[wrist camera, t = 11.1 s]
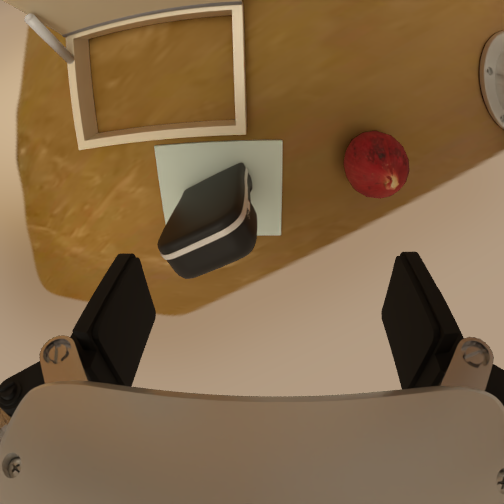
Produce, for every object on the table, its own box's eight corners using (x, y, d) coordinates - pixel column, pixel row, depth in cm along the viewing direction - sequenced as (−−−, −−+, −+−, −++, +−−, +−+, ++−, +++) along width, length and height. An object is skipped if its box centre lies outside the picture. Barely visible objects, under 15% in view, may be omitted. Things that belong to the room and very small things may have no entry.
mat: (282, 139, 29) (282, 140, 28) (280, 233, 34) (280, 235, 34) (155, 145, 29) (154, 146, 28) (168, 235, 34) (167, 237, 34)
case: (242, -35, 19) (230, -104, 7) (247, 127, 28) (238, 180, 16) (80, -4, 20) (-17, -19, 8) (92, 141, 28) (7, 200, 17)
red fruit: (330, 130, 28) (353, 153, 21) (386, 119, 27) (423, 140, 20) (341, 185, 31) (364, 223, 24) (393, 174, 30) (428, 208, 23)
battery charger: (200, 220, 33) (178, 293, 23) (181, 190, 31) (148, 254, 21) (262, 192, 31) (264, 259, 21) (244, 158, 29) (237, 213, 20)
